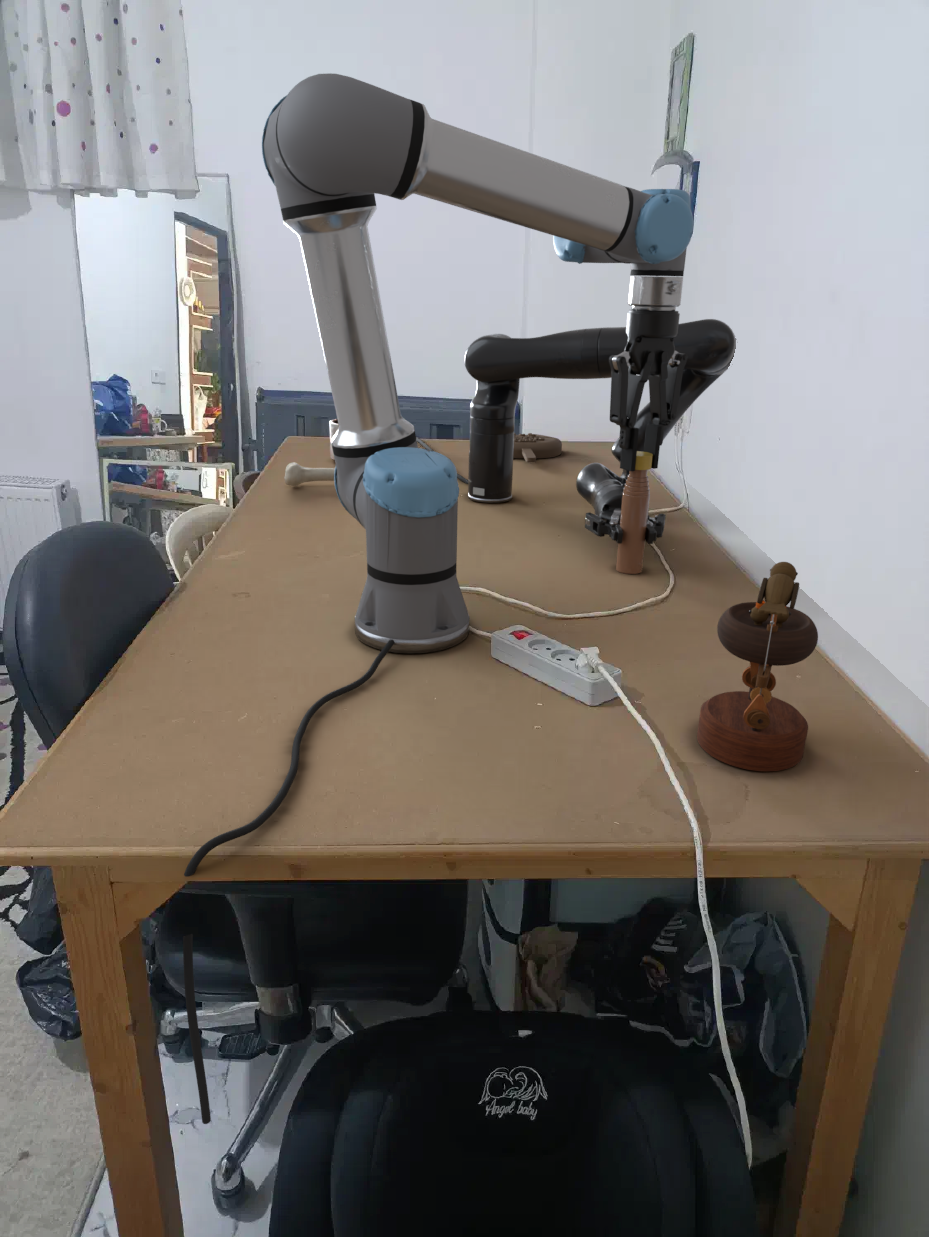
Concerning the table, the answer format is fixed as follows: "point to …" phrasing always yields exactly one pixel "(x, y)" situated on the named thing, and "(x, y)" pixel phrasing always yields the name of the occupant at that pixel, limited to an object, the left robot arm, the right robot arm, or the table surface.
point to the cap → (643, 460)
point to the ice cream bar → (535, 447)
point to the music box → (760, 680)
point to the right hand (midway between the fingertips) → (635, 537)
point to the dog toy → (306, 474)
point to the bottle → (633, 522)
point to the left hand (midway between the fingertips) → (638, 467)
